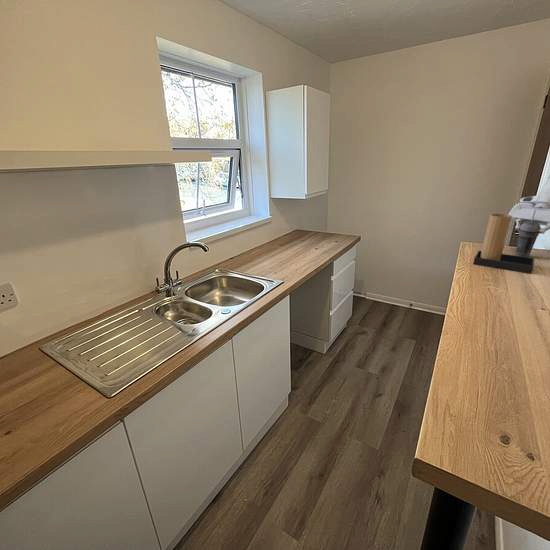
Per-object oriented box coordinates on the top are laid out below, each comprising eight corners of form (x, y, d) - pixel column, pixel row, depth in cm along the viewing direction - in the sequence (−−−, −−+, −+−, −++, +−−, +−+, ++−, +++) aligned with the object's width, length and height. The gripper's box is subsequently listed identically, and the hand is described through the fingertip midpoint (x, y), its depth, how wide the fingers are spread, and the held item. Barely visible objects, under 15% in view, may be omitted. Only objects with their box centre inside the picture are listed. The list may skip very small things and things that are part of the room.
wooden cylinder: (496, 260, 128) (508, 213, 121) (501, 266, 122) (514, 217, 115) (477, 259, 131) (488, 213, 123) (481, 264, 125) (493, 216, 117)
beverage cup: (511, 257, 131) (524, 211, 124) (511, 252, 137) (523, 208, 129) (533, 259, 127) (547, 212, 120) (531, 254, 133) (545, 209, 125)
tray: (532, 265, 122) (534, 258, 121) (531, 273, 114) (533, 266, 113) (477, 256, 133) (478, 250, 132) (473, 264, 125) (474, 257, 124)
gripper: (577, 212, 122) (560, 240, 121) (519, 206, 138) (503, 230, 137) (577, 203, 118) (559, 231, 117) (517, 197, 134) (500, 222, 134)
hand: (528, 230), depth 127 cm, fingers closed on beverage cup, 7 cm apart
